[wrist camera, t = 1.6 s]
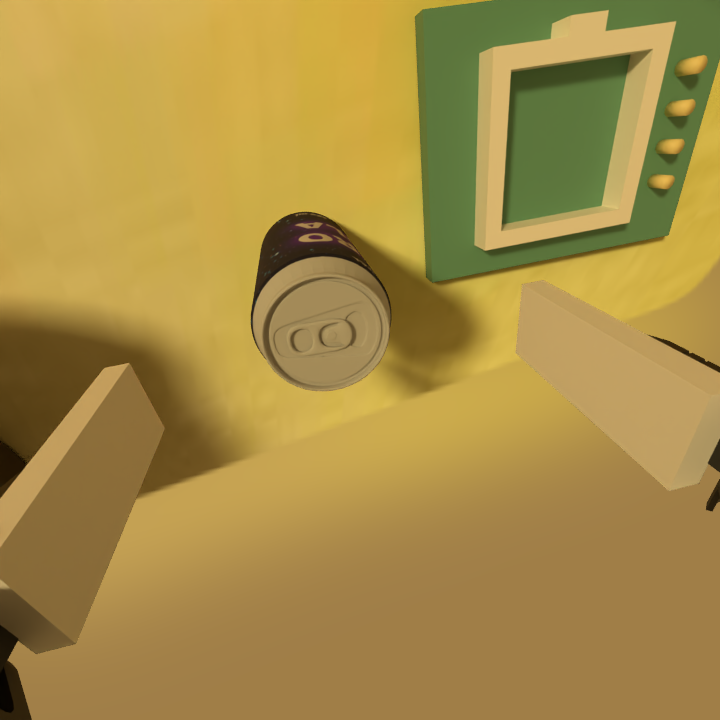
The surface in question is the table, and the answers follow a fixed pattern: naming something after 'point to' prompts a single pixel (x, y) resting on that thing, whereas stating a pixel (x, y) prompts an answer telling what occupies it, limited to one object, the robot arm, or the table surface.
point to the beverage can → (318, 305)
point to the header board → (556, 124)
